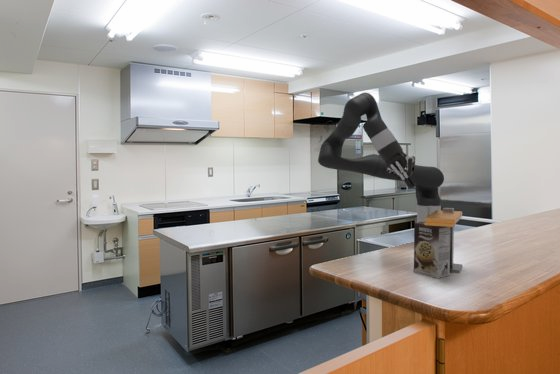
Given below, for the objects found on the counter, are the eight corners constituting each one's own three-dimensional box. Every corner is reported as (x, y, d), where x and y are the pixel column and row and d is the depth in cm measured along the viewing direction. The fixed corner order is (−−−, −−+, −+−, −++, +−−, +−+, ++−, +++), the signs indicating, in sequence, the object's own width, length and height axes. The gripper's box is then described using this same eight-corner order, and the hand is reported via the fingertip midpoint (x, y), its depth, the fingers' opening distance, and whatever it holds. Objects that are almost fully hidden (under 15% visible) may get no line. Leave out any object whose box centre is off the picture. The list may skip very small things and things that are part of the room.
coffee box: (412, 271, 122) (413, 222, 121) (425, 268, 125) (426, 220, 124) (437, 279, 114) (438, 226, 113) (450, 275, 118) (451, 224, 117)
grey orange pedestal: (424, 281, 112) (424, 214, 111) (436, 263, 131) (437, 206, 130) (453, 285, 108) (454, 216, 107) (462, 266, 127) (463, 207, 125)
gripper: (367, 156, 134) (394, 197, 133) (393, 139, 123) (422, 184, 122) (379, 149, 138) (405, 189, 137) (405, 132, 127) (434, 175, 126)
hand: (413, 186), depth 130 cm, fingers closed
